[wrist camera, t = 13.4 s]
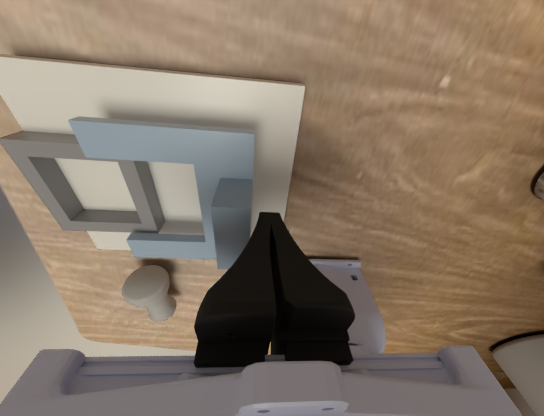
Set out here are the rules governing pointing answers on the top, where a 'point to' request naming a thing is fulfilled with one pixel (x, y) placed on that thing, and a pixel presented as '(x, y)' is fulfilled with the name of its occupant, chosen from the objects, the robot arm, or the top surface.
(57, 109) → the cream rectangular board
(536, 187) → the mug
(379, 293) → the top surface
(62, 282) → the top surface
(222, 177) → the blue frame with block
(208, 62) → the top surface
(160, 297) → the rook chess piece
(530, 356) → the cylinder vase
